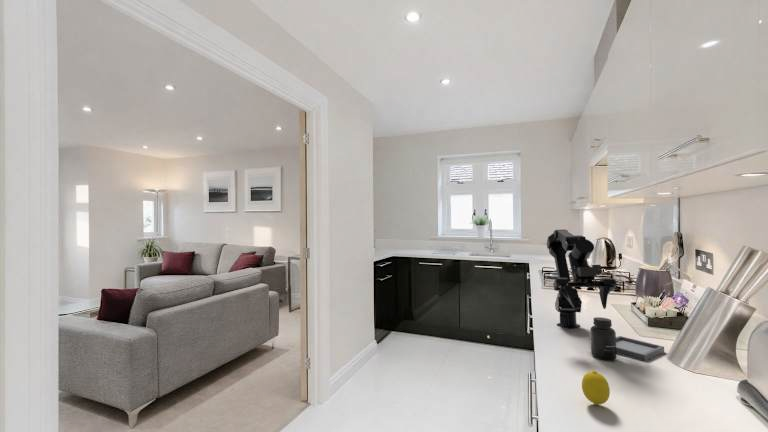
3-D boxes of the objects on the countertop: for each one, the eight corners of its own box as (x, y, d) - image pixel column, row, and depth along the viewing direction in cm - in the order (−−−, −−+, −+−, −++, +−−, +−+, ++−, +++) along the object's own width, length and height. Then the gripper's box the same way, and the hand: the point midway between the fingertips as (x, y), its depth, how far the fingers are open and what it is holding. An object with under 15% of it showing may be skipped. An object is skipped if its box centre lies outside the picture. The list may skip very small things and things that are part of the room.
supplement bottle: (613, 363, 100) (610, 323, 101) (588, 356, 106) (586, 319, 106) (620, 357, 105) (617, 318, 105) (595, 351, 110) (593, 315, 110)
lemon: (599, 398, 81) (597, 365, 81) (616, 411, 75) (614, 375, 75) (577, 399, 80) (575, 366, 81) (592, 412, 75) (590, 376, 75)
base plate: (620, 340, 119) (619, 335, 119) (664, 352, 107) (664, 346, 107) (600, 348, 112) (599, 343, 112) (645, 361, 101) (644, 355, 101)
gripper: (555, 256, 116) (563, 298, 108) (615, 255, 112) (629, 300, 103) (550, 269, 125) (557, 310, 117) (606, 270, 120) (618, 312, 112)
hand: (589, 308), depth 112 cm, fingers open, 9 cm apart
